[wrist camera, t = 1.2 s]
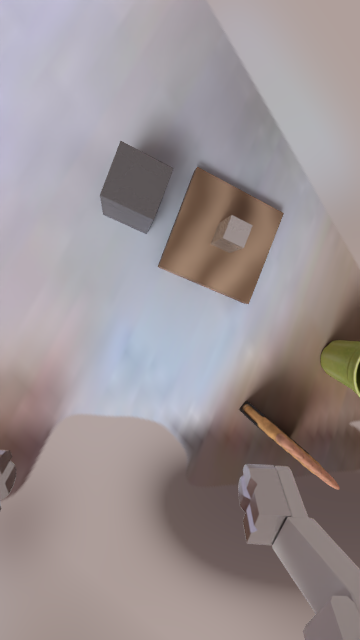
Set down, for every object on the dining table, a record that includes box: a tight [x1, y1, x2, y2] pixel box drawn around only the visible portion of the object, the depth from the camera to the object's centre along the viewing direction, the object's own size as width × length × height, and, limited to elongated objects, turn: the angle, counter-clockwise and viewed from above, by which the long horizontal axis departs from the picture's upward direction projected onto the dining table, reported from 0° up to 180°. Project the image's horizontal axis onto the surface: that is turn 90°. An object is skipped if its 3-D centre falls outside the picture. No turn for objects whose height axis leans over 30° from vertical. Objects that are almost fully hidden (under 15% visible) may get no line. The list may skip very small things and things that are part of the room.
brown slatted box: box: [240, 401, 340, 490], centre depth 39 cm, size 11×2×12 cm, turn 48°
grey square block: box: [100, 141, 173, 234], centre depth 33 cm, size 6×6×8 cm
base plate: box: [158, 167, 284, 304], centre depth 39 cm, size 14×14×2 cm
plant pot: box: [321, 340, 360, 397], centre depth 42 cm, size 9×9×9 cm
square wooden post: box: [211, 215, 253, 253], centre depth 36 cm, size 3×3×4 cm
